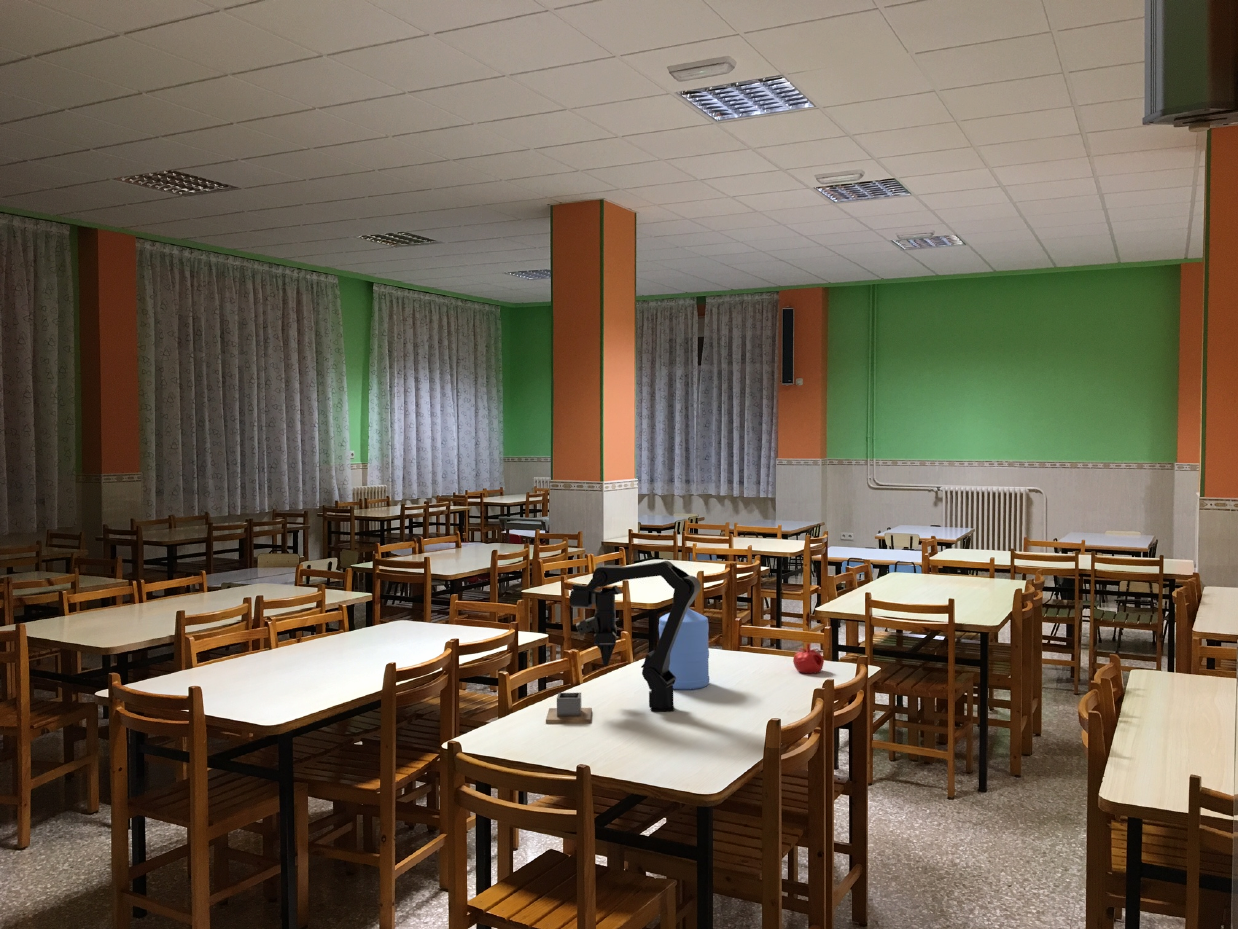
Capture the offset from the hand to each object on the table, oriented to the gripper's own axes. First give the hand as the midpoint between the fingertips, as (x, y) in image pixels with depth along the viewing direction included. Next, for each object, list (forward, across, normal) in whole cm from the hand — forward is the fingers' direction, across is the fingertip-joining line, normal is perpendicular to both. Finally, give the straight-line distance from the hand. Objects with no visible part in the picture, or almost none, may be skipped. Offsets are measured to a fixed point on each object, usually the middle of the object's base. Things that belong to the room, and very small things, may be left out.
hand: (605, 662), depth 283 cm
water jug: (+12, -23, +24) cm, 35 cm away
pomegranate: (+12, -39, +66) cm, 78 cm away
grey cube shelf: (+11, +14, -10) cm, 20 cm away
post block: (+12, +14, -10) cm, 21 cm away
